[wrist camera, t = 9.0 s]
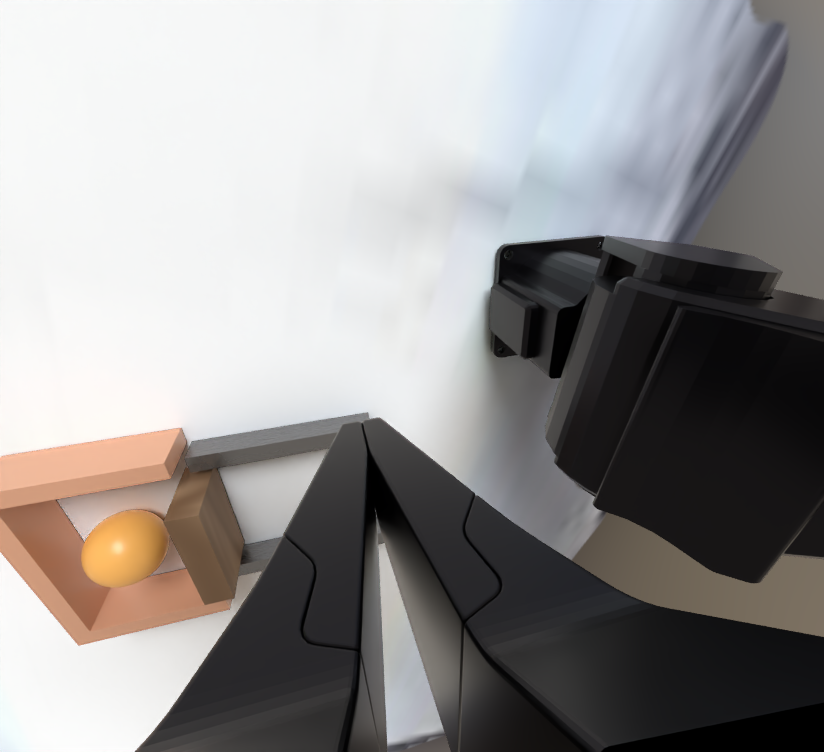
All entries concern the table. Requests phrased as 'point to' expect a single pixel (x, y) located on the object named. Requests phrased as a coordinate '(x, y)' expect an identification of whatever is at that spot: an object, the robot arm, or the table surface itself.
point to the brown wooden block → (206, 534)
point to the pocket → (62, 546)
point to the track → (261, 448)
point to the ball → (125, 548)
